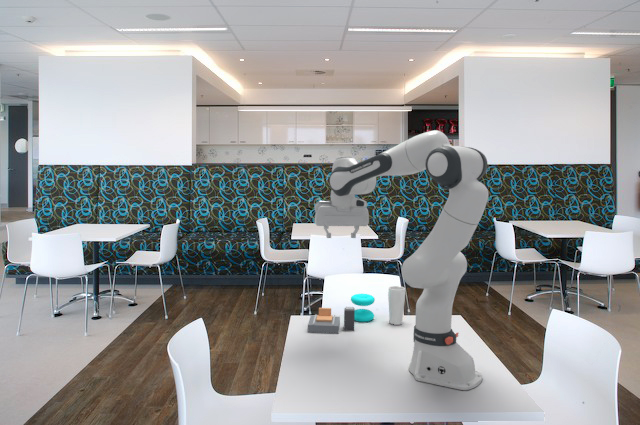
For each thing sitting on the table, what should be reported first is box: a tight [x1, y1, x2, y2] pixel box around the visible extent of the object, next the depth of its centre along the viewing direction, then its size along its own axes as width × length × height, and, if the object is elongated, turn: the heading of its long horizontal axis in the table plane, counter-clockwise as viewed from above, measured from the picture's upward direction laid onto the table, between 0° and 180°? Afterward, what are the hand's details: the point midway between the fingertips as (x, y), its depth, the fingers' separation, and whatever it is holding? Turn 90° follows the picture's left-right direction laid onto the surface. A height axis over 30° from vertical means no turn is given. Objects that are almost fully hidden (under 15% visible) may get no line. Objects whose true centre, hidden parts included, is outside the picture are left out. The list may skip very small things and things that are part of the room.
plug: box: [343, 306, 356, 332], centre depth 199 cm, size 4×4×9 cm
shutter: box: [316, 307, 334, 322], centre depth 201 cm, size 6×6×4 cm
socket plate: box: [307, 314, 341, 335], centre depth 200 cm, size 12×12×4 cm
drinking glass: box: [387, 285, 406, 326], centre depth 206 cm, size 7×7×15 cm
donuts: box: [350, 293, 376, 323], centre depth 212 cm, size 10×10×10 cm
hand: (341, 237), depth 186 cm, fingers open, 8 cm apart
